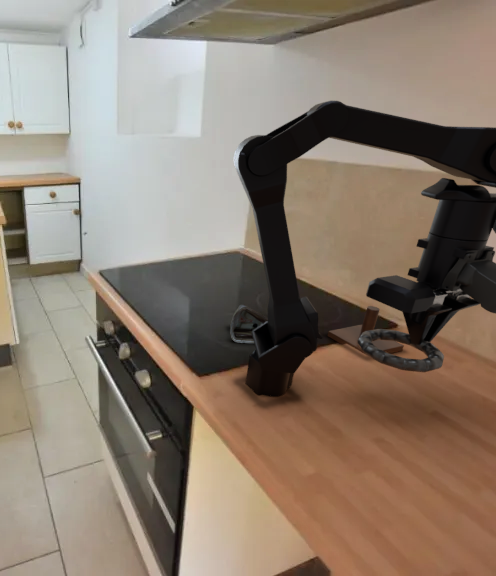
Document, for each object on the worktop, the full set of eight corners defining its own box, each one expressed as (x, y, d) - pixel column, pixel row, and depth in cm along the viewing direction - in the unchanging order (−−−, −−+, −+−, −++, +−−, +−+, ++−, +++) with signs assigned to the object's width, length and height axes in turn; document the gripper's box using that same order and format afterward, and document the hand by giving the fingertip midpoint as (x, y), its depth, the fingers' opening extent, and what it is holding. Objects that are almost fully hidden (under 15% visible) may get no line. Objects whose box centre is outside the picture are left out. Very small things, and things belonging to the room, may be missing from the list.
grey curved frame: (283, 329, 81) (246, 288, 81) (296, 337, 74) (255, 291, 74) (248, 358, 82) (211, 317, 82) (257, 368, 75) (217, 323, 75)
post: (366, 359, 70) (377, 321, 67) (327, 336, 78) (335, 302, 75) (402, 350, 72) (414, 314, 70) (360, 329, 80) (369, 296, 77)
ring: (404, 380, 48) (408, 369, 47) (341, 342, 56) (344, 333, 56) (459, 366, 50) (463, 355, 50) (391, 332, 59) (393, 323, 58)
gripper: (479, 261, 38) (430, 388, 44) (592, 245, 43) (535, 361, 49) (378, 235, 48) (350, 342, 54) (480, 225, 53) (444, 323, 59)
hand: (420, 342), depth 54 cm, fingers closed on ring, 1 cm apart
